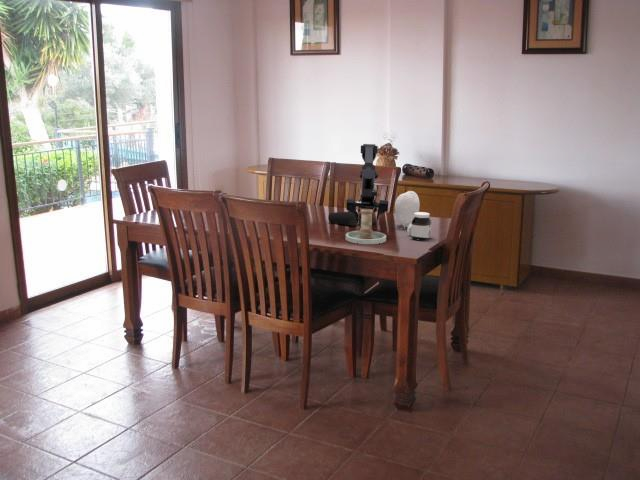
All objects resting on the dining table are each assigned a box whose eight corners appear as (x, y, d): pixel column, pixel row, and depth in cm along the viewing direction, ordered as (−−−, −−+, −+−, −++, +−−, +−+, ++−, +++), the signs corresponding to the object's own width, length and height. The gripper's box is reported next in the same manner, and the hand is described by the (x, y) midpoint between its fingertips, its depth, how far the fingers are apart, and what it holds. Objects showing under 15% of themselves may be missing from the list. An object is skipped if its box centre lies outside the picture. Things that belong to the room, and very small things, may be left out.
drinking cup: (336, 217, 355) (371, 219, 345) (330, 228, 351) (366, 230, 340) (331, 206, 350) (366, 208, 340) (325, 217, 346) (361, 219, 336)
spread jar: (423, 242, 315) (425, 216, 312) (400, 238, 321) (402, 213, 318) (434, 237, 325) (436, 212, 322) (412, 233, 331) (413, 209, 328)
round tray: (384, 235, 326) (384, 231, 326) (387, 244, 308) (387, 240, 308) (345, 234, 326) (345, 230, 326) (346, 243, 309) (346, 239, 308)
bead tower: (368, 236, 321) (369, 207, 318) (374, 238, 316) (375, 210, 313) (357, 237, 318) (358, 208, 315) (363, 239, 314) (364, 211, 310)
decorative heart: (410, 231, 334) (412, 196, 330) (389, 229, 339) (390, 193, 335) (422, 224, 350) (424, 190, 346) (402, 222, 354) (403, 188, 350)
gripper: (347, 181, 316) (345, 210, 308) (389, 182, 315) (388, 211, 307) (347, 195, 326) (345, 223, 318) (388, 196, 324) (387, 225, 316)
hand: (366, 220), depth 314 cm, fingers open, 9 cm apart
